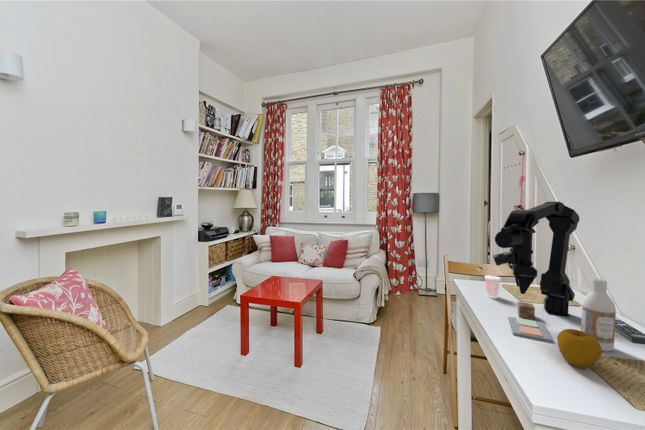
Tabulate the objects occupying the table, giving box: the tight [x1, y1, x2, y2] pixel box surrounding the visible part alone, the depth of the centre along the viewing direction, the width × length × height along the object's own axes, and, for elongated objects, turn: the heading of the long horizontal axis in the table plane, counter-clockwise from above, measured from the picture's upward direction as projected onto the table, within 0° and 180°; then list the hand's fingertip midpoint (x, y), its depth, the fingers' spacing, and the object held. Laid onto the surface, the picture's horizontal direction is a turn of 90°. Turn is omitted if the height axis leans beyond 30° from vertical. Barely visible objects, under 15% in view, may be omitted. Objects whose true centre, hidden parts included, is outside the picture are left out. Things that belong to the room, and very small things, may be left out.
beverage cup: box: [483, 265, 501, 299], centre depth 123 cm, size 6×6×14 cm
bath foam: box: [580, 278, 617, 352], centre depth 80 cm, size 7×7×20 cm
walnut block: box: [517, 301, 536, 321], centre depth 102 cm, size 4×4×4 cm
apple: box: [556, 328, 603, 369], centre depth 72 cm, size 8×8×9 cm
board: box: [507, 316, 554, 343], centre depth 91 cm, size 10×14×1 cm
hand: (520, 289), depth 96 cm, fingers open, 9 cm apart
